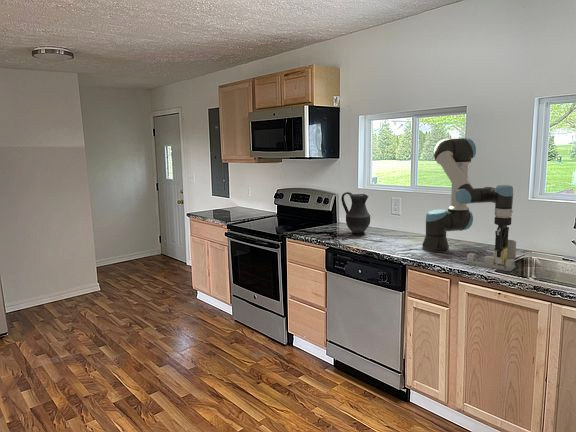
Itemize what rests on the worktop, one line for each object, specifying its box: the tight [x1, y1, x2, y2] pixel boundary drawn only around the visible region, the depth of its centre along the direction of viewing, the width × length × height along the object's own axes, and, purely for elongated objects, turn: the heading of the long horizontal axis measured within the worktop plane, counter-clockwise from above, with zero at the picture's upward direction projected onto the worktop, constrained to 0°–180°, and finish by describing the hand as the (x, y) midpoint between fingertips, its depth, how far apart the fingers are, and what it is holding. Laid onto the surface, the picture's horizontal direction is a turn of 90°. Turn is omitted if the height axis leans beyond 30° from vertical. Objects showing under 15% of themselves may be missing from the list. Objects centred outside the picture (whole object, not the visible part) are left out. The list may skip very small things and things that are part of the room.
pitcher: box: [340, 191, 371, 237], centre depth 296 cm, size 17×21×30 cm
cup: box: [507, 239, 517, 259], centre depth 228 cm, size 7×10×9 cm
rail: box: [464, 252, 517, 272], centre depth 216 cm, size 22×9×5 cm, turn 47°
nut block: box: [494, 246, 507, 264], centre depth 212 cm, size 4×4×8 cm
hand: (500, 261), depth 212 cm, fingers open, 5 cm apart
